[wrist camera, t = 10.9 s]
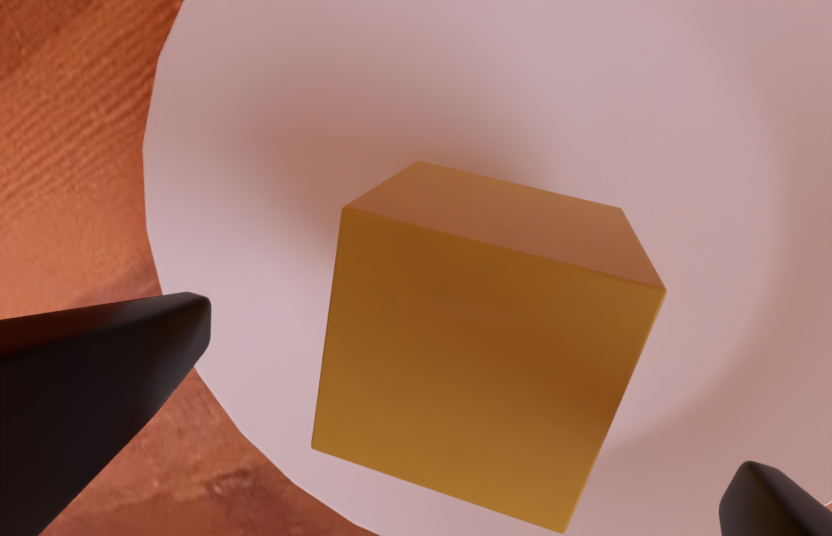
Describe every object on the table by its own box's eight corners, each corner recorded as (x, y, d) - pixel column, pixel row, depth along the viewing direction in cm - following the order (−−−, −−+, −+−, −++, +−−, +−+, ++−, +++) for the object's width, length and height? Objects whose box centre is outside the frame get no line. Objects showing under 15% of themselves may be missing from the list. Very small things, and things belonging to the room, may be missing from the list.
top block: (622, 207, 12) (669, 290, 7) (560, 383, 14) (564, 537, 9) (416, 159, 12) (340, 206, 8) (384, 332, 14) (309, 449, 10)
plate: (923, -425, 9) (1032, -572, 7) (943, 509, 15) (1008, 580, 12) (87, 10, 16) (17, 0, 14) (320, 534, 21) (296, 582, 19)
